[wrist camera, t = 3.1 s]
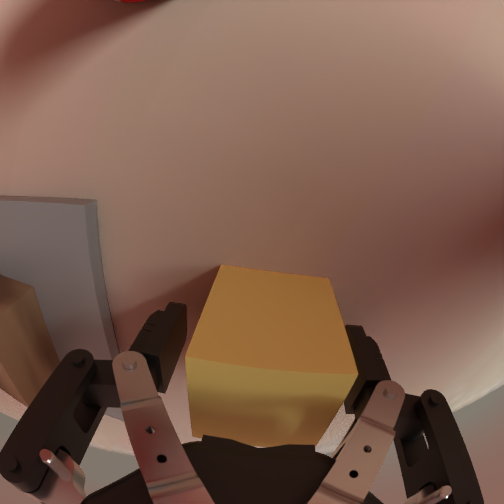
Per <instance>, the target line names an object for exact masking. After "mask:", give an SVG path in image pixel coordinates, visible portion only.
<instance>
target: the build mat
mask: <svg viewBox="0 0 504 504" xmlns="http://www.w3.org/2000/svg"><path fill="white" fill-rule="evenodd" d="M0 274H1V275H3V276H6V277H9V278H11V279H14V280H17V281H20V282H22V283H25V284H28V285H31V286H34V289H35V292H36V296H37V299H38V302H39V306H40V309H41V312H42V315H43V318H44V321H45V324H46V326H47V329H48V332H49V335H50V337H51V340H52V342H53V345H54V347H55V350H56V352H57V355H58V357H59V359H60V362H61V361H62V359H63V358H64V357H65V355H66V354H67V353H69V352H70V351H72V350H75V349H85V350H87V351H89V352H90V353H92V355H93V357H94V359H96V360H113V359H114V358H115V357H116V356H117V355H118V354H119V350H118V346H117V342H116V338H115V334H114V329H113V325H112V320H111V315H110V311H109V305H108V300H107V294H106V289H105V282H104V276H103V269H102V262H101V254H100V245H99V234H98V222H97V206H96V200H89V199H72V198H52V197H27V196H0ZM104 414H105V415H108V416H111V417H113V418H116V419H119V420H122V421H124V418H123V415H122V411H121V408H112V407H108V408H107V409H106V411H105V413H104Z"/></svg>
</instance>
